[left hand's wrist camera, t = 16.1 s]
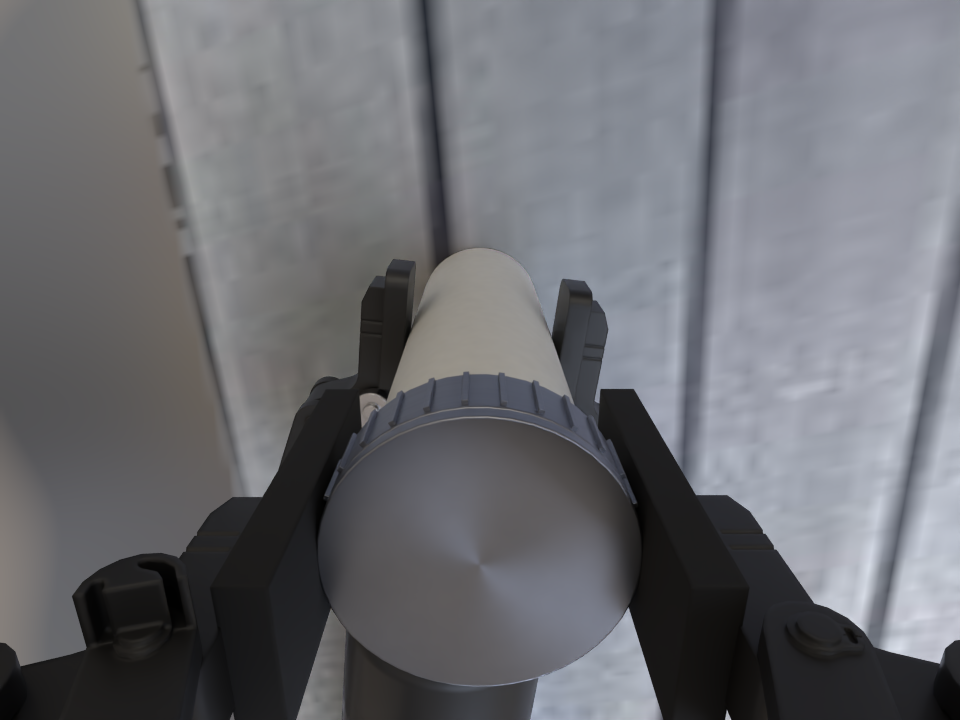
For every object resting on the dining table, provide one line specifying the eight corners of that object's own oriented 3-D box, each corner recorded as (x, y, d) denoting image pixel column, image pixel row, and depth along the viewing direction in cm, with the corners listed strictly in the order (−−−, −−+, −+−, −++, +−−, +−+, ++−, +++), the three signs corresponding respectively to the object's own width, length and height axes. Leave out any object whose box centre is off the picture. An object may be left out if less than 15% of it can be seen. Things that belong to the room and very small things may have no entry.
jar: (400, 291, 26) (292, 512, 11) (494, 224, 25) (514, 366, 10) (467, 377, 27) (451, 678, 12) (558, 317, 26) (660, 563, 11)
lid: (495, 660, 14) (497, 735, 12) (277, 518, 12) (246, 580, 11) (685, 488, 12) (718, 548, 10) (459, 307, 11) (456, 340, 9)
